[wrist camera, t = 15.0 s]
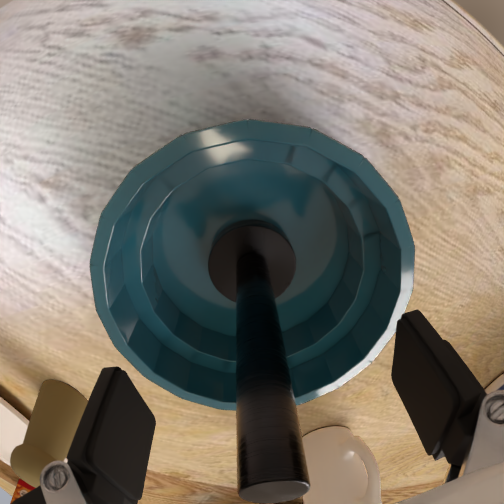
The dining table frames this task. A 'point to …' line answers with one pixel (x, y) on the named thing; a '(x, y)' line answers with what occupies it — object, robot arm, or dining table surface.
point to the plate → (11, 430)
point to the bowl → (260, 208)
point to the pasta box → (21, 489)
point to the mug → (340, 468)
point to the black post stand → (261, 360)
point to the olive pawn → (48, 430)
